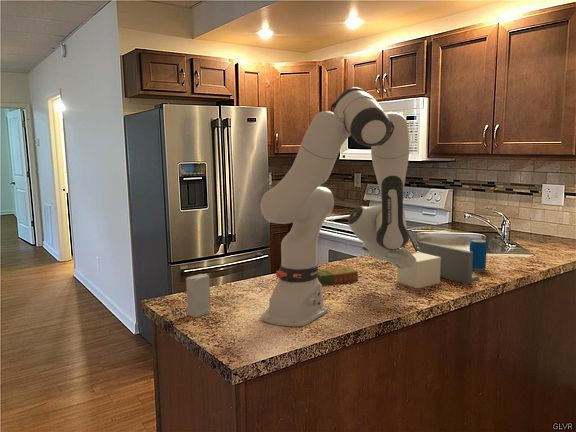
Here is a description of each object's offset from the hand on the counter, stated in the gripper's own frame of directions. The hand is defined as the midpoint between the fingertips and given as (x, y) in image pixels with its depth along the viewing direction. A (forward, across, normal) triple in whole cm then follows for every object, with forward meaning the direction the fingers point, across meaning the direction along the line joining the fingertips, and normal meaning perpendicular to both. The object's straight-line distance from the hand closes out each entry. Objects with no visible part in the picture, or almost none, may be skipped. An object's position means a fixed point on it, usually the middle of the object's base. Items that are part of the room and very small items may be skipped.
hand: (401, 267), depth 167 cm
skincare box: (-46, +13, +56) cm, 73 cm away
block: (+13, +2, -2) cm, 13 cm away
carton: (-5, +21, +16) cm, 27 cm away
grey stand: (+25, +3, -14) cm, 29 cm away
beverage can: (+38, +4, -26) cm, 46 cm away
